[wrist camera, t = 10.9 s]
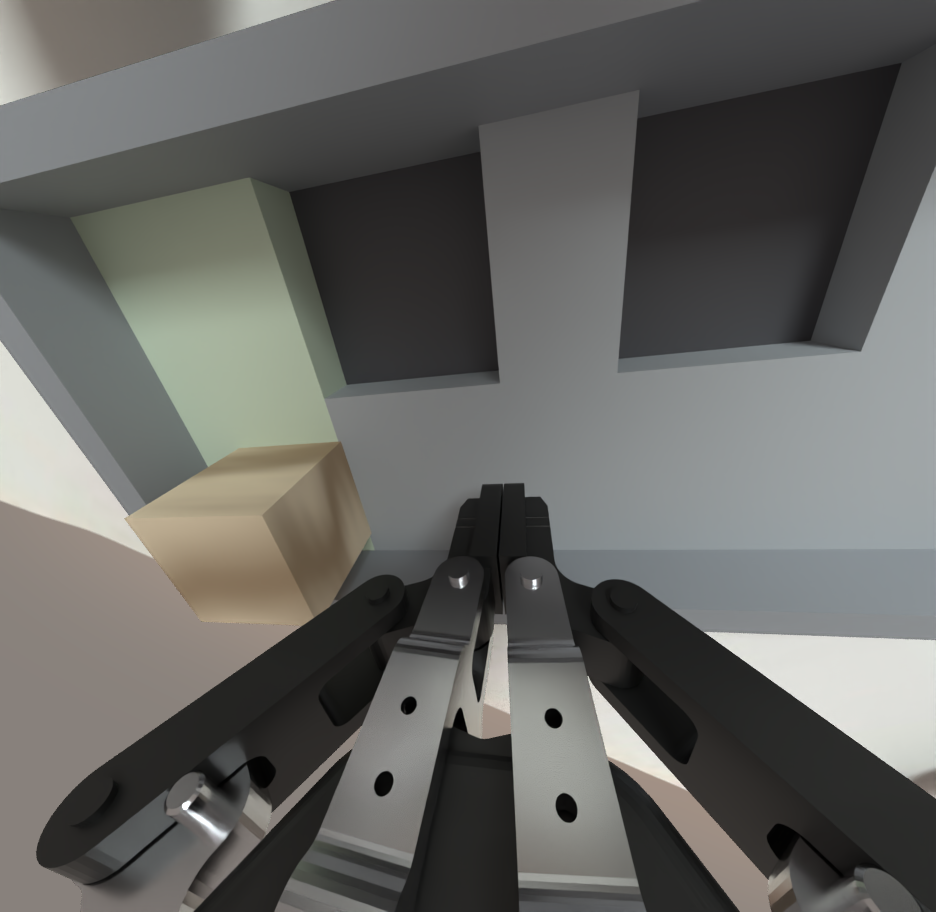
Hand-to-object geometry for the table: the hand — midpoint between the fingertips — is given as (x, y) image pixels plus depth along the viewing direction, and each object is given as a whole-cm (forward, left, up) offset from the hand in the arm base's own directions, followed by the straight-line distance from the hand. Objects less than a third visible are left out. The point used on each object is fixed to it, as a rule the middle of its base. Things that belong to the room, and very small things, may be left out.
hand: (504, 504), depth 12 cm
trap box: (-3, +2, -5) cm, 6 cm away
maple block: (+1, -9, -2) cm, 10 cm away
